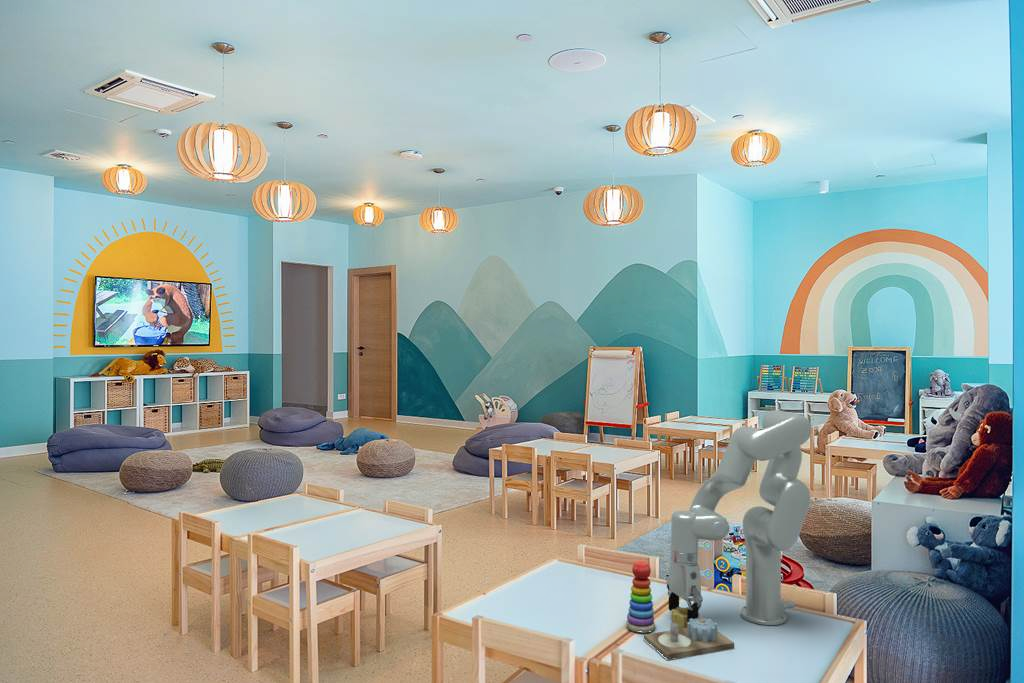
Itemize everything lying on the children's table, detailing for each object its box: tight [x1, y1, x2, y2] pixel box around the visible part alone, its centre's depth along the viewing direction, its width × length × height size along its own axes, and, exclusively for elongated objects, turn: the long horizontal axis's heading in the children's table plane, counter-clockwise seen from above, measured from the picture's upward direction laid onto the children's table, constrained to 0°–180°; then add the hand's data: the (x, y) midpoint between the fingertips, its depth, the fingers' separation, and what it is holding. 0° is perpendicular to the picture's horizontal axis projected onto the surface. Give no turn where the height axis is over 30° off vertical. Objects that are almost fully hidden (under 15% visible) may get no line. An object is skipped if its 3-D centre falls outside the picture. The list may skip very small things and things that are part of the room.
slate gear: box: [687, 616, 718, 643], centre depth 186 cm, size 8×8×4 cm
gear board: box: [643, 617, 735, 660], centre depth 185 cm, size 20×12×6 cm, turn 108°
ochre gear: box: [670, 606, 700, 629], centre depth 197 cm, size 8×8×4 cm
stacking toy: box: [626, 560, 656, 633], centre depth 195 cm, size 8×8×19 cm
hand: (683, 616), depth 197 cm, fingers open, 9 cm apart
